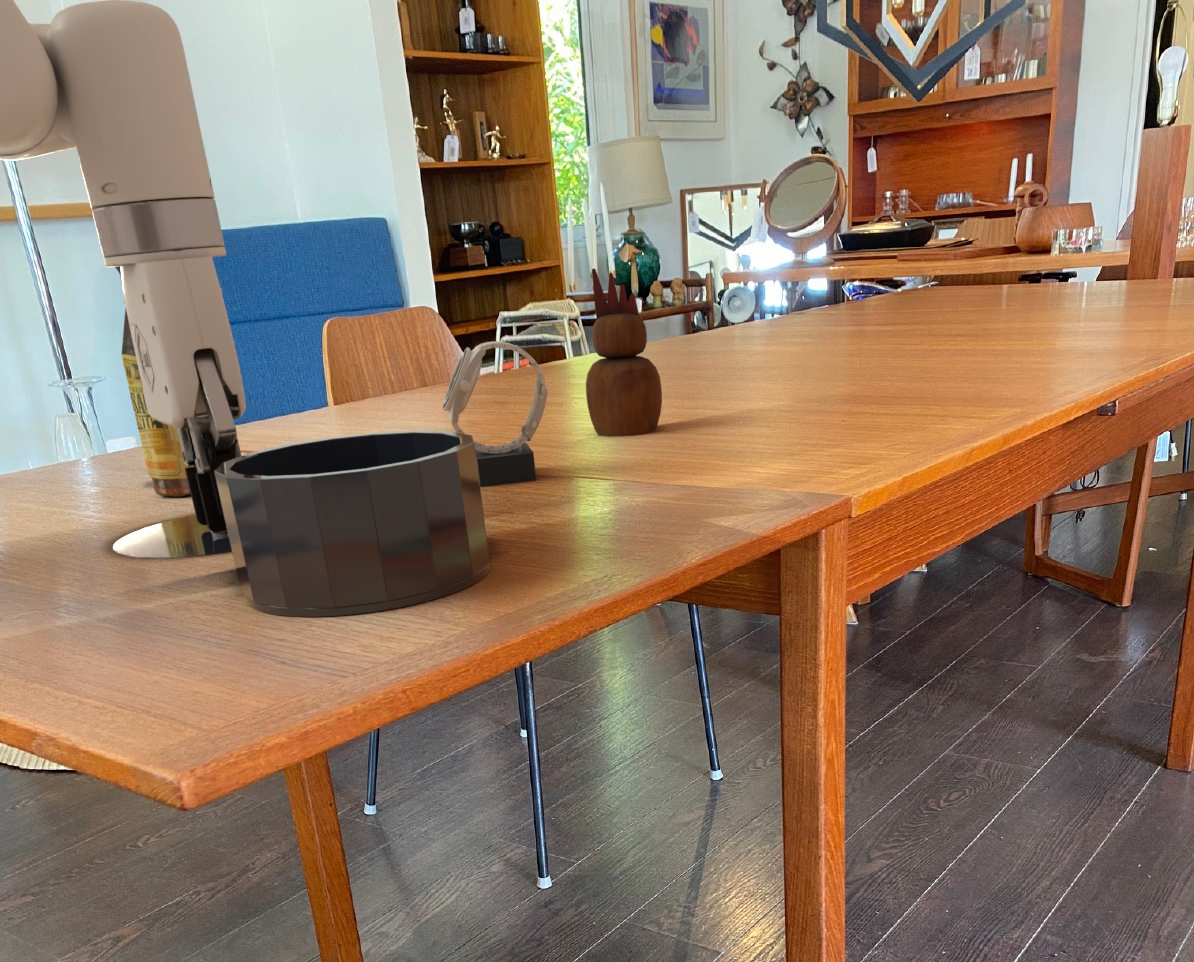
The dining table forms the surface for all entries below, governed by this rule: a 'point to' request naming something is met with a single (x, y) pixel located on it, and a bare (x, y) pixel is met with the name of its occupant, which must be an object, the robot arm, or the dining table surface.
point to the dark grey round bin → (355, 522)
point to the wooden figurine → (621, 368)
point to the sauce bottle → (154, 430)
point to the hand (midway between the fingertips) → (226, 522)
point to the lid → (174, 540)
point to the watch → (500, 460)
